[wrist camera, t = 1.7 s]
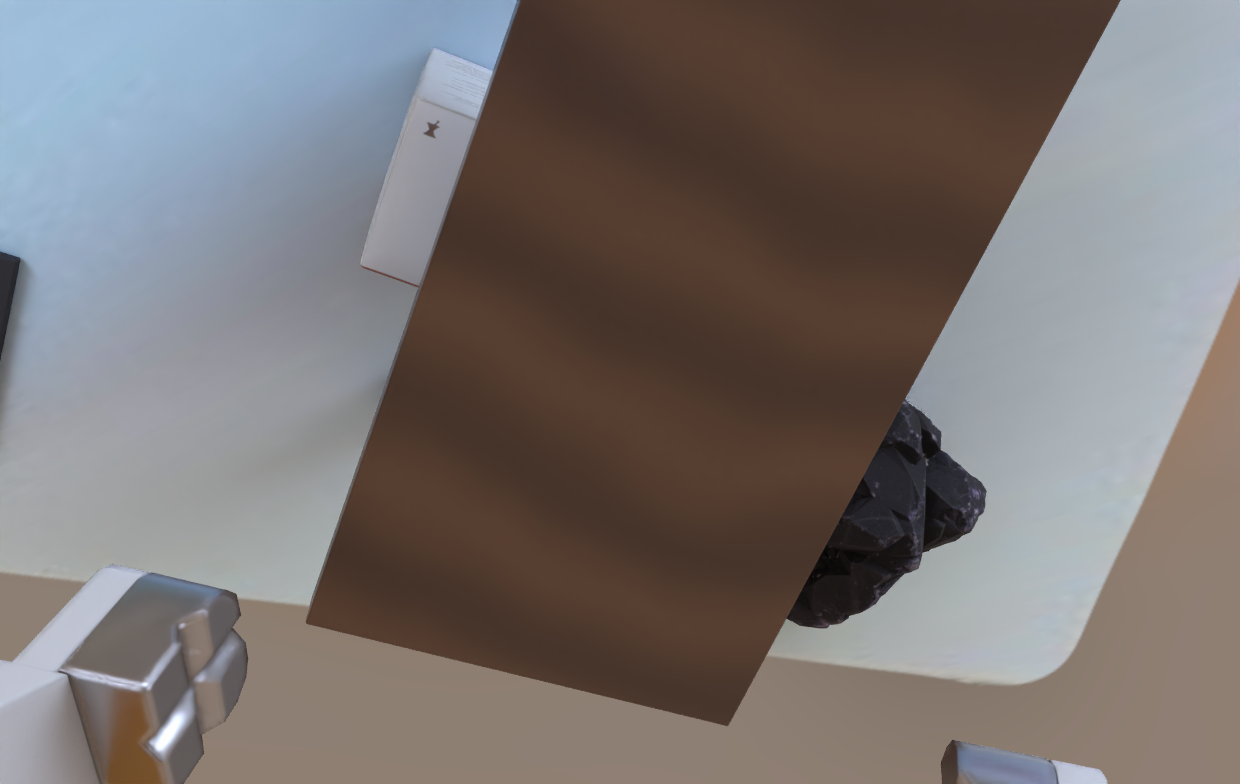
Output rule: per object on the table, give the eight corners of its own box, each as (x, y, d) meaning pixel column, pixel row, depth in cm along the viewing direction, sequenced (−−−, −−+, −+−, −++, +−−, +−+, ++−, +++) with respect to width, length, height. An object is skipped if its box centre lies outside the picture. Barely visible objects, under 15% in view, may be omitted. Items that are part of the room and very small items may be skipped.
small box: (384, 179, 48) (352, 267, 36) (431, 44, 46) (413, 89, 34) (551, 243, 50) (572, 345, 38) (603, 116, 48) (643, 183, 36)
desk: (562, -198, 43) (612, -267, 26) (902, -39, 47) (1128, -12, 30) (360, 401, 52) (304, 624, 36) (656, 490, 56) (728, 727, 40)
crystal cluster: (662, 565, 59) (708, 697, 50) (706, 348, 53) (767, 457, 44) (882, 564, 62) (960, 688, 54) (949, 359, 56) (1049, 463, 47)
